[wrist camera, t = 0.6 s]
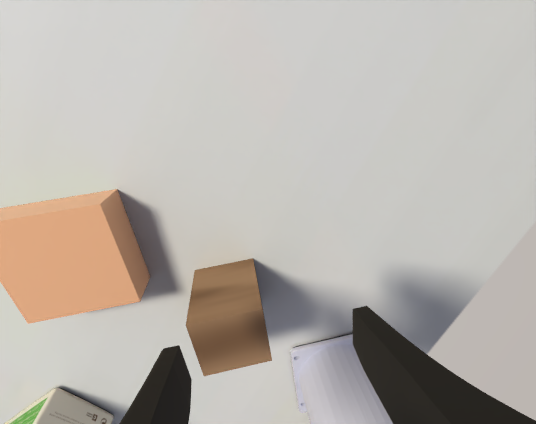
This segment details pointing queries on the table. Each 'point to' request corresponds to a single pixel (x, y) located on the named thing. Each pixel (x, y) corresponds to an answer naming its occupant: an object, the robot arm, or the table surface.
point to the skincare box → (61, 411)
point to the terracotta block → (70, 256)
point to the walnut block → (227, 318)
